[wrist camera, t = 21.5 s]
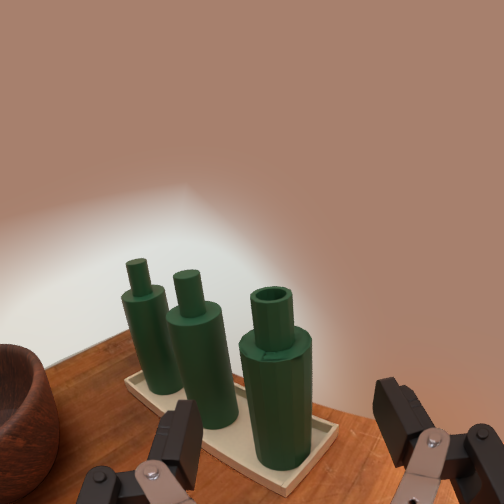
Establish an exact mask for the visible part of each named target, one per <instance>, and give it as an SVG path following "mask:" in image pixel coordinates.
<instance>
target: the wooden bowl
mask: <svg viewBox="0 0 504 504" xmlns="http://www.w3.org/2000/svg"><path fill="white" fill-rule="evenodd" d="M58 447H59V420H58V414H57V409H56V405H55V401H54V397H53V394H52V391H51V388H50V385H49V382H48V379H47V375H46V373H45V370H44V367H43V365H42V363H41V361H40V360H39V358H38V357H37V356H36V355H35V353H33V352H32V351H31V350H29V349H27V348H24V347H21V346H17V345H12V344H0V504H8V503H11V502H14V501H16V500H18V499H20V498H22V497H24V496H26V495H27V494H29V493H30V492H31V491H33V490H34V489H35V488H36V487H37V486H38V485H39V484H40V483H41V482H42V481H43V480H44V478H45V477H46V476H47V474H48V473H49V471H50V469H51V468H52V466H53V464H54V461H55V459H56V456H57V452H58Z"/></svg>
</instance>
